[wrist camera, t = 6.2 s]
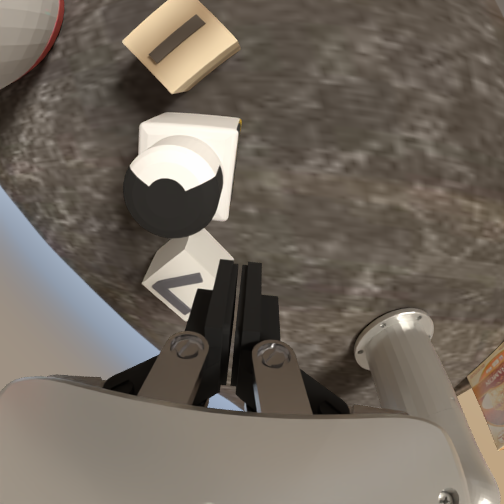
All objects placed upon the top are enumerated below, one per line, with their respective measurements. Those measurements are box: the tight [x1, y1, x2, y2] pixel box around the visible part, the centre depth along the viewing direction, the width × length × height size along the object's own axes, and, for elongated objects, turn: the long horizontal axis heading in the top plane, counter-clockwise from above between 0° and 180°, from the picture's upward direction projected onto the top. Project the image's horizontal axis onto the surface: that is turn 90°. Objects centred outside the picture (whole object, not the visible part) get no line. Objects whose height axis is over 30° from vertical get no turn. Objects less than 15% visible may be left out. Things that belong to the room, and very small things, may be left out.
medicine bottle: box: [123, 112, 242, 238], centre depth 22 cm, size 7×7×12 cm
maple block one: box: [122, 0, 241, 94], centre depth 20 cm, size 6×6×6 cm
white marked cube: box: [142, 228, 234, 321], centre depth 31 cm, size 6×6×6 cm
